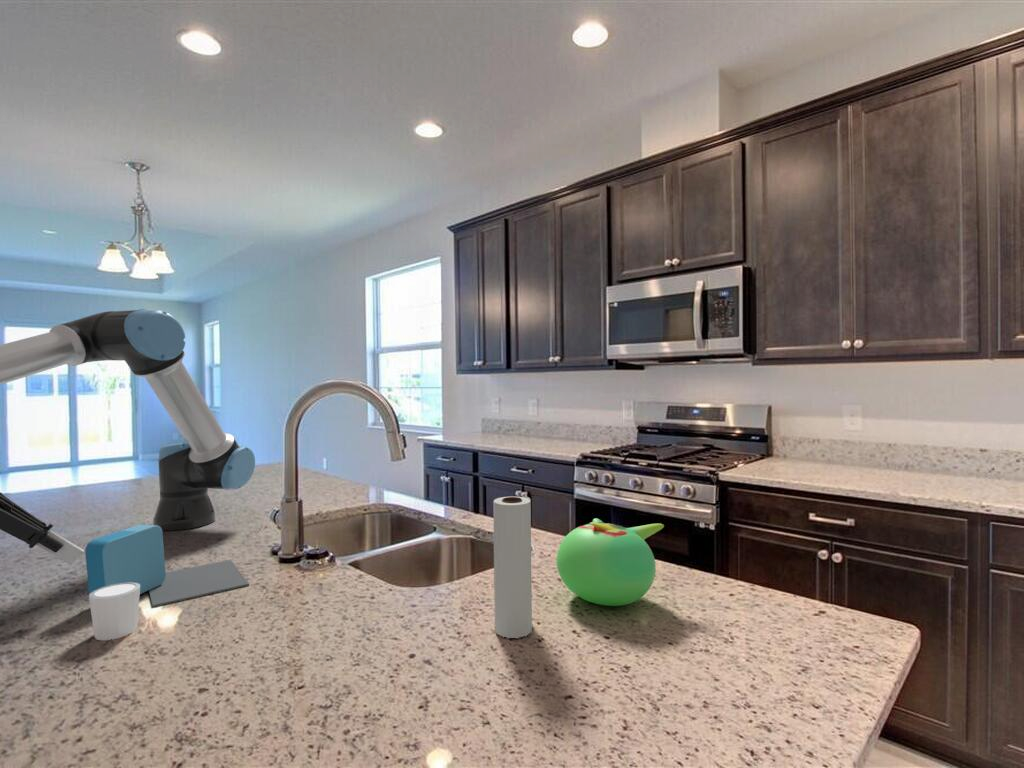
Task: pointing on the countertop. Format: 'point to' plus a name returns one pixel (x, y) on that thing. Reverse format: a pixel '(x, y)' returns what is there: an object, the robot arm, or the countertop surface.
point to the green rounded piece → (607, 562)
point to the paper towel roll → (512, 566)
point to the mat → (197, 582)
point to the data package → (127, 558)
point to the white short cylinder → (115, 610)
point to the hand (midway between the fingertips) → (77, 557)
